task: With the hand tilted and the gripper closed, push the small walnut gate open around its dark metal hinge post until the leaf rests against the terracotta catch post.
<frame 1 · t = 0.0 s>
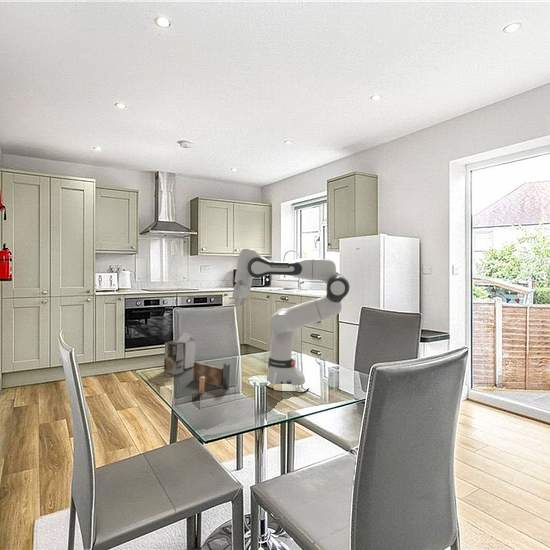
hand: (239, 306, 207), 39 cm above the table, tool pointing down, fingers open, 8 cm apart
milk carton: (185, 367, 227), on the table
coffee box: (173, 372, 217), on the table
catch post: (201, 392, 188), on the table
gate: (208, 373, 201), point 5 cm above the table, hinge at 0.0°
gate post: (225, 388, 196), on the table
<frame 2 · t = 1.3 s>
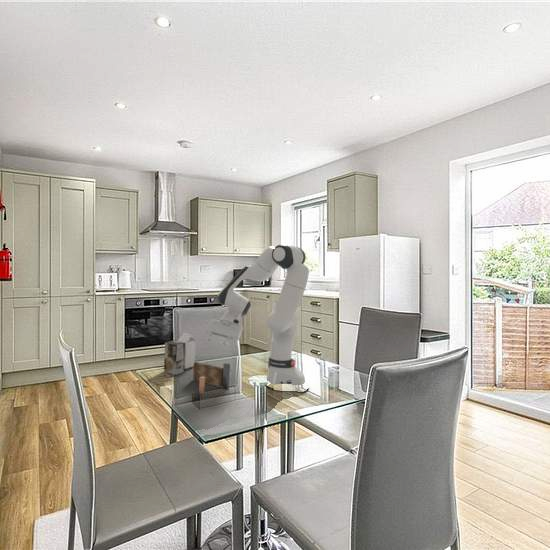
hand: (216, 342, 212), 18 cm above the table, tool tilted 45°, fingers open, 8 cm apart
nothing on the table moved.
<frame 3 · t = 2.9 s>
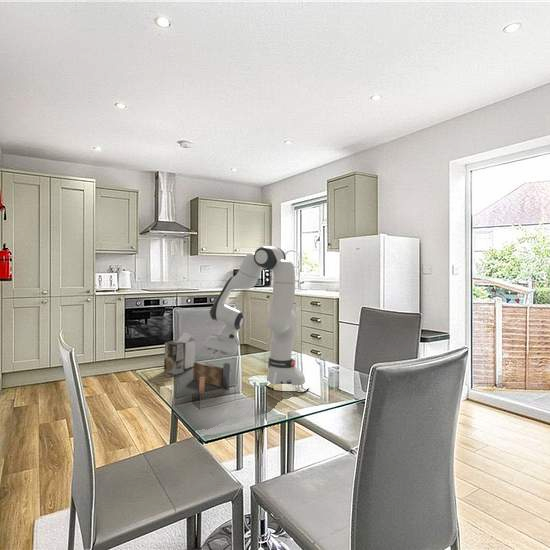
hand: (212, 358, 211), 10 cm above the table, tool tilted 45°, fingers closed
nothing on the table moved.
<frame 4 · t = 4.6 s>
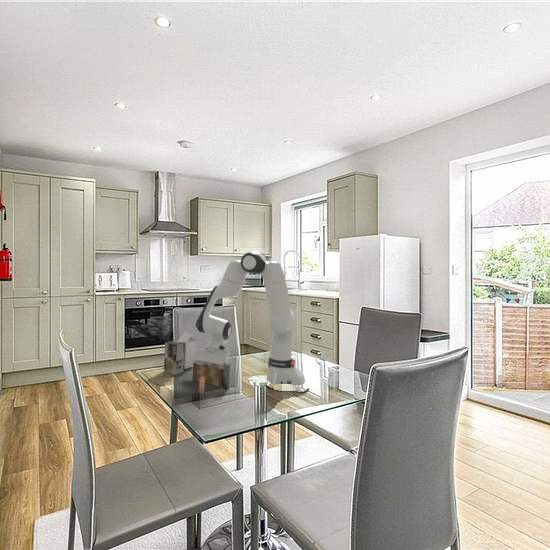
hand: (203, 371, 204), 5 cm above the table, tool tilted 45°, fingers closed
gate: (207, 374, 201), point 5 cm above the table, hinge at 1.7°, touching gripper
everything else where it was.
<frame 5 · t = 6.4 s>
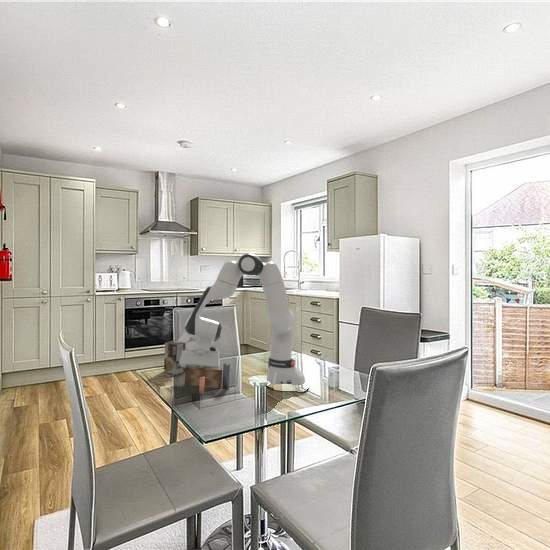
hand: (196, 375, 198), 5 cm above the table, tool tilted 45°, fingers closed, pressing on gate
gate: (203, 376, 196), point 5 cm above the table, hinge at 27.1°, touching gripper
everything else where it was.
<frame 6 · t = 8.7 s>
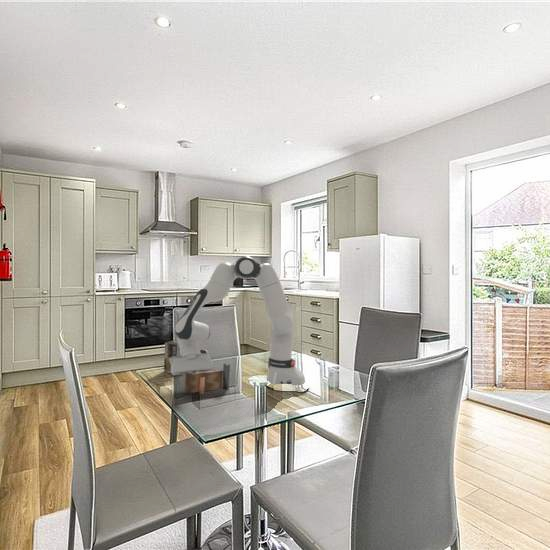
hand: (195, 381, 189), 5 cm above the table, tool tilted 45°, fingers closed, pressing on gate
gate: (204, 381, 190), point 5 cm above the table, hinge at 61.0°, touching catch post, gripper
everything else where it was.
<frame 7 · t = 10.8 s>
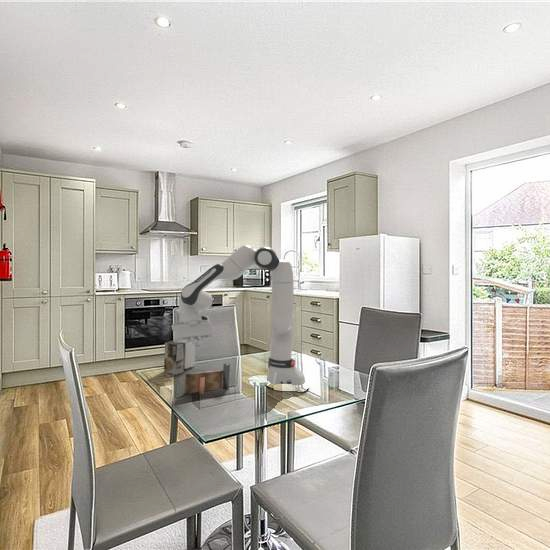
hand: (197, 345, 195), 20 cm above the table, tool tilted 45°, fingers closed
gate: (204, 381, 190), point 5 cm above the table, hinge at 61.0°, touching catch post
everything else where it was.
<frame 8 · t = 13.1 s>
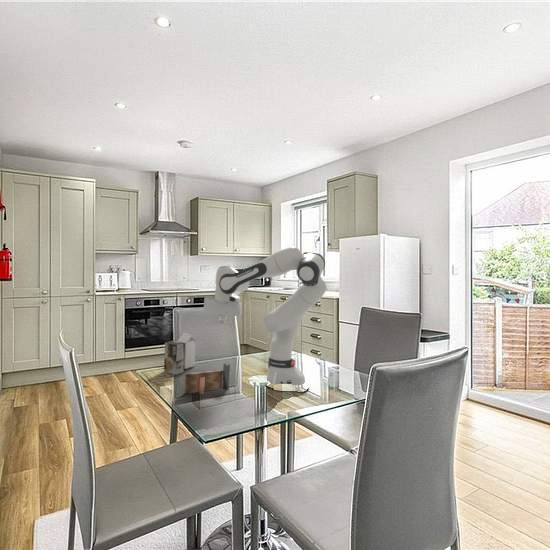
hand: (222, 323, 210), 29 cm above the table, tool pointing down, fingers closed
nothing on the table moved.
at the end: gate at +61° (first picture: +0°); coffee box moved 0.2 cm from its start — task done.
